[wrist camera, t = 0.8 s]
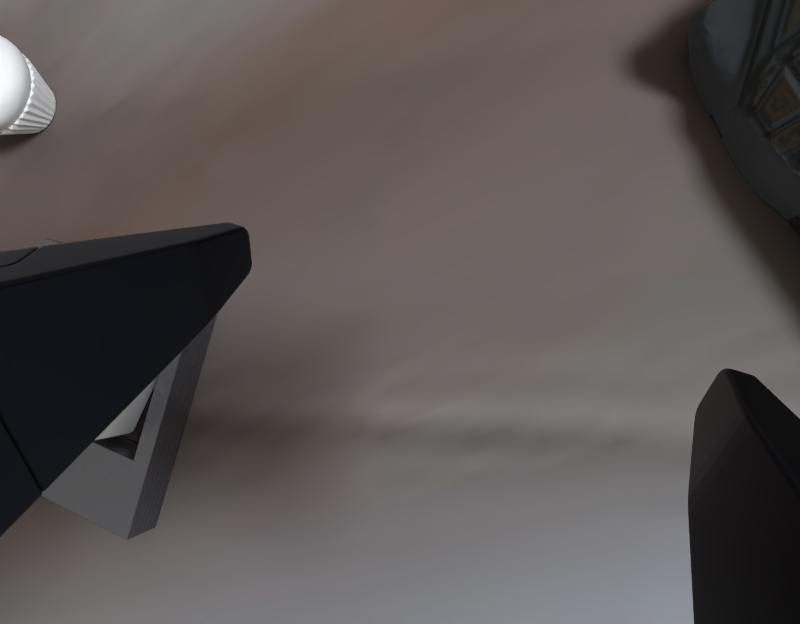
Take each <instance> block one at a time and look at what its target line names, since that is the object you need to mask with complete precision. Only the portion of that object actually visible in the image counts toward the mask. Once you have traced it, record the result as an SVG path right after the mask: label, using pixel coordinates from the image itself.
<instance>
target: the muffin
mask: <svg viewBox="0 0 800 624" xmlns="http://www.w3.org/2000/svg"><path fill="white" fill-rule="evenodd" d="M55 100H56V99H55V97H54V94H53V93H52V91H51V90H50V88H49V87H48V86H47V84H46V83H45V81H44V80H43V79H42V77H41V76H40V74H39V73H38V72H37V70H36V69H35V68H34V66H33V65H32V63H31V62H30V61H29V59H28V58H26V57H25V56H24V54H21V52H20V51H19V50H18V49H17V47H16V46H15V45H14V44H12V43H11V42H10V41H8V40H7V39H5V38H3V37H1V36H0V135H12V134H31V133H38V132H40V131H41V130H44V129H45V128H47V126H48V125H49V124H50V122H51V121H52V118H53V117H54V113H55V112H56V111H55V108H56V105H55V104H56V101H55Z"/></svg>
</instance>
